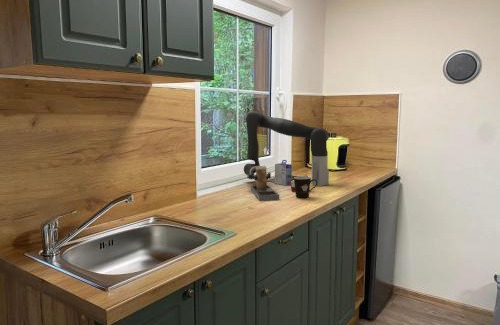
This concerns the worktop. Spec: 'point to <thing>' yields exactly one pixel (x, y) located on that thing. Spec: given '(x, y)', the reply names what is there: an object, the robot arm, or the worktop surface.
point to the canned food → (293, 186)
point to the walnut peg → (261, 177)
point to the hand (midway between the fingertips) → (262, 178)
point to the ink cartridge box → (283, 173)
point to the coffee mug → (303, 186)
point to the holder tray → (265, 193)
